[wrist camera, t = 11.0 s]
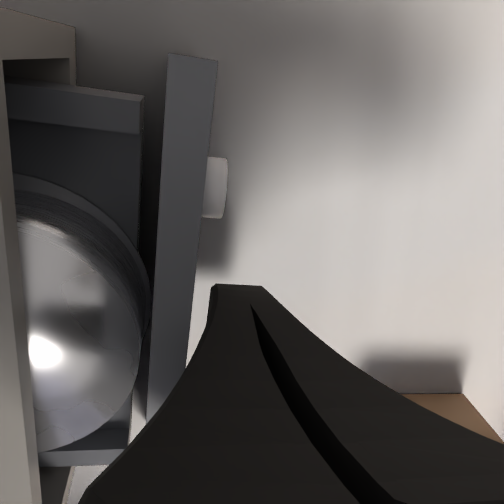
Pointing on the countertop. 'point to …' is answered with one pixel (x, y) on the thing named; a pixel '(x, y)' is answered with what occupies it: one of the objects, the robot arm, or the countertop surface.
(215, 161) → the tray
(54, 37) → the block
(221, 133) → the countertop surface
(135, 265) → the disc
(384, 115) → the countertop surface
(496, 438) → the brown cube
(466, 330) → the countertop surface
